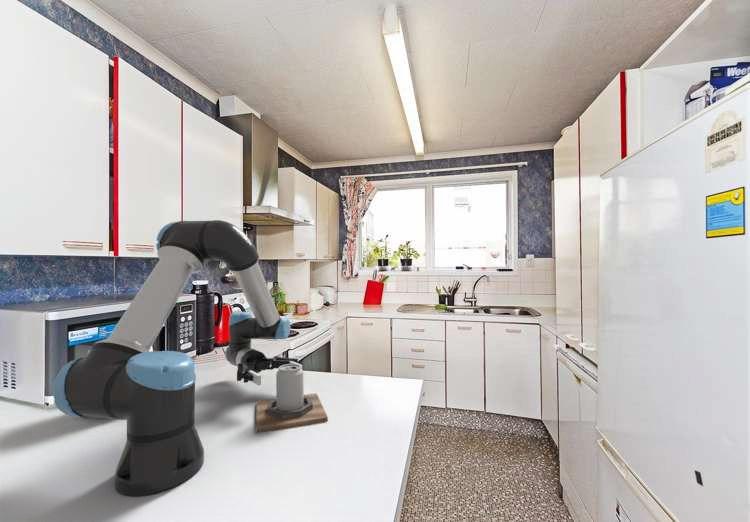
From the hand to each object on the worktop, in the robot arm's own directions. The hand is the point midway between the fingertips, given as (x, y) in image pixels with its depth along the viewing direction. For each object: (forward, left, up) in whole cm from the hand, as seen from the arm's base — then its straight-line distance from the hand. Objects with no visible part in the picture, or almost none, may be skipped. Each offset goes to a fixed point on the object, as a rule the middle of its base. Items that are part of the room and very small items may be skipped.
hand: (281, 374), depth 99 cm
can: (-5, -2, -8) cm, 10 cm away
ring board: (-5, -2, -9) cm, 11 cm away
